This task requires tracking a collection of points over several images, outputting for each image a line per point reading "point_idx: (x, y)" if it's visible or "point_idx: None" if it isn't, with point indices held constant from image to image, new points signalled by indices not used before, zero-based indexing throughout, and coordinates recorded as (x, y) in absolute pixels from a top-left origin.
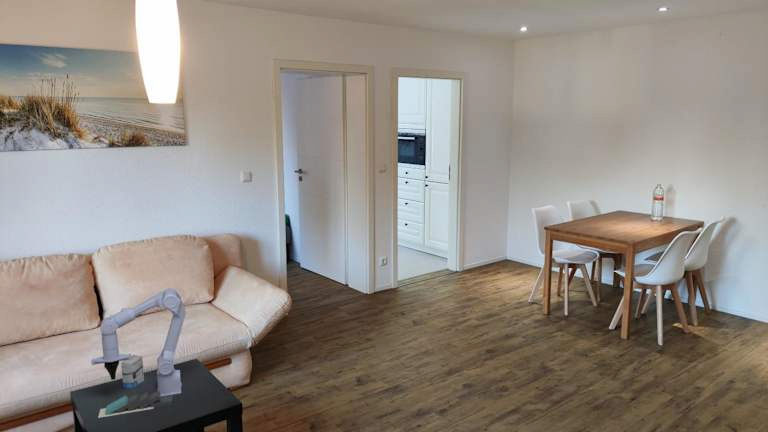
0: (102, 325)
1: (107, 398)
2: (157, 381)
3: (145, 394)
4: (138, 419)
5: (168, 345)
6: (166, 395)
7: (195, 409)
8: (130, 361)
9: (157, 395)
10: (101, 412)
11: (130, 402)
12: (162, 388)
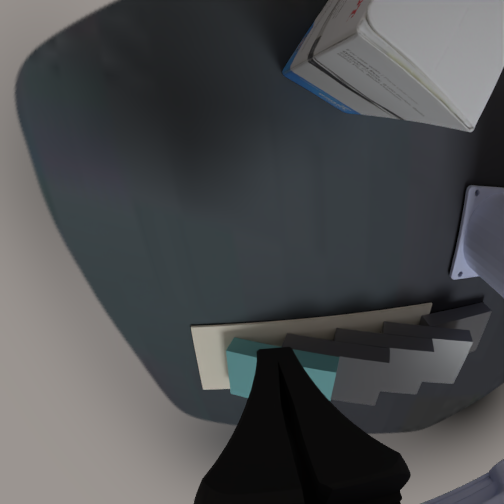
0: None
1: (198, 205)
2: (501, 265)
3: (419, 362)
4: (352, 411)
5: None
6: (478, 275)
7: (493, 370)
8: (470, 61)
9: (452, 379)
10: (206, 358)
11: (346, 401)
12: (489, 284)
